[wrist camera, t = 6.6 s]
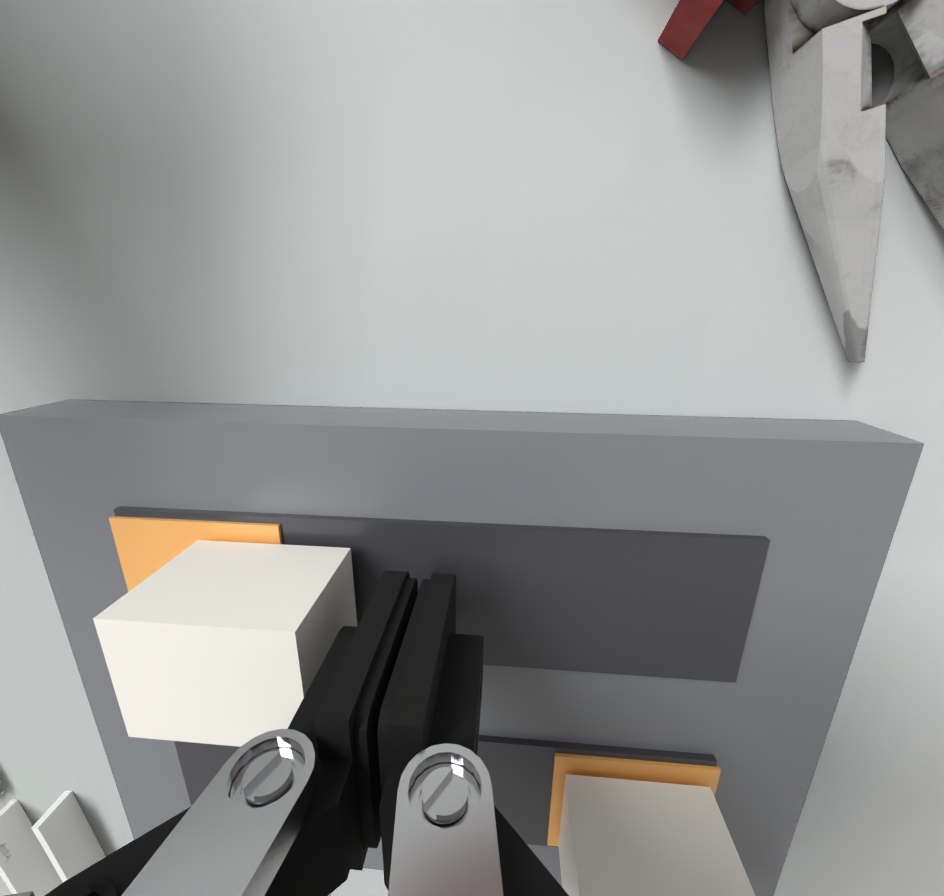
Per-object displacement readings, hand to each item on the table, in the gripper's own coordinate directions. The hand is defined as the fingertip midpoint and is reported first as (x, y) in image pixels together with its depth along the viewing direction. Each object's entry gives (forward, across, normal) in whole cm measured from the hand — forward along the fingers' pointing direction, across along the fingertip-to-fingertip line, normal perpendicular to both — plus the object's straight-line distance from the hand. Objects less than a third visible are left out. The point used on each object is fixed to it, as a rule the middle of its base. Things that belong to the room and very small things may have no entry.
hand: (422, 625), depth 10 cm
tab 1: (+1, +4, 0) cm, 4 cm away
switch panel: (+3, 0, +4) cm, 5 cm away
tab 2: (+1, -6, +7) cm, 9 cm away
